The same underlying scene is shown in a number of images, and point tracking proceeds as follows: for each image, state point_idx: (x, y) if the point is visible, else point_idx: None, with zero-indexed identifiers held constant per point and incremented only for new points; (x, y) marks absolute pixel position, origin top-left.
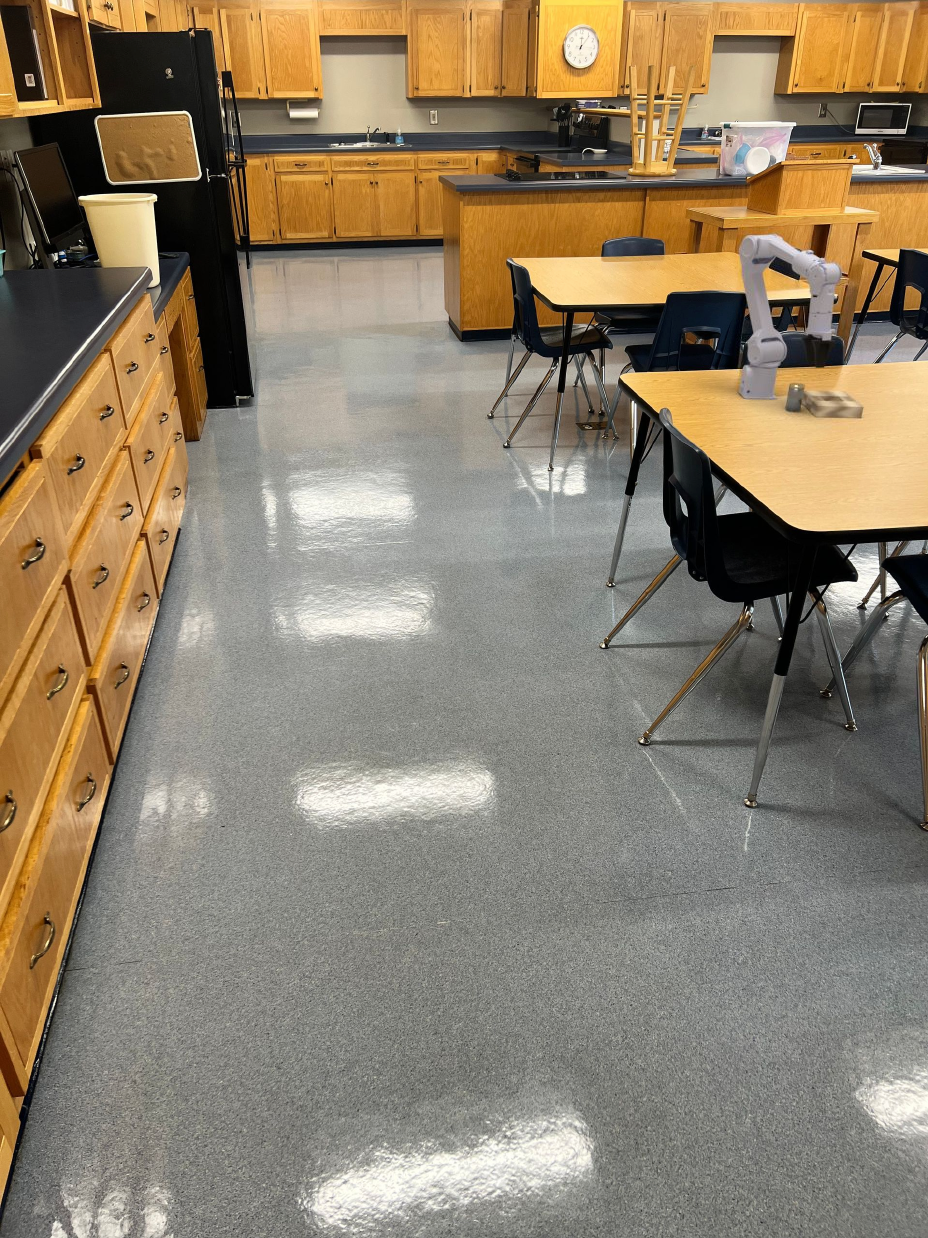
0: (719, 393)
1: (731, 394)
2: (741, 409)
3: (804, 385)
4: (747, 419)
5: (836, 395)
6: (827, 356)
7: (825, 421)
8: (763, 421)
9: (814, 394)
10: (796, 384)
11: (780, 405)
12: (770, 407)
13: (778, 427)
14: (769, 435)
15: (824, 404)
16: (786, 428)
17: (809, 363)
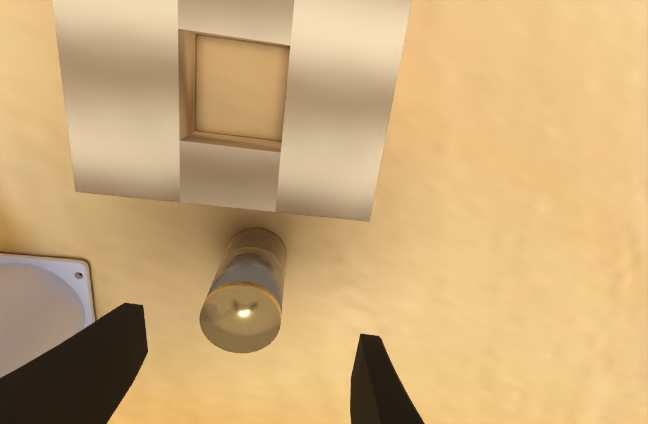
0: None
1: None
2: (243, 401)
3: (256, 292)
4: None
5: (161, 34)
6: (415, 410)
7: (415, 184)
8: None
9: (151, 155)
10: (235, 323)
11: (178, 271)
12: None
13: (454, 356)
14: (522, 397)
15: (346, 182)
16: (470, 339)
17: (144, 344)
